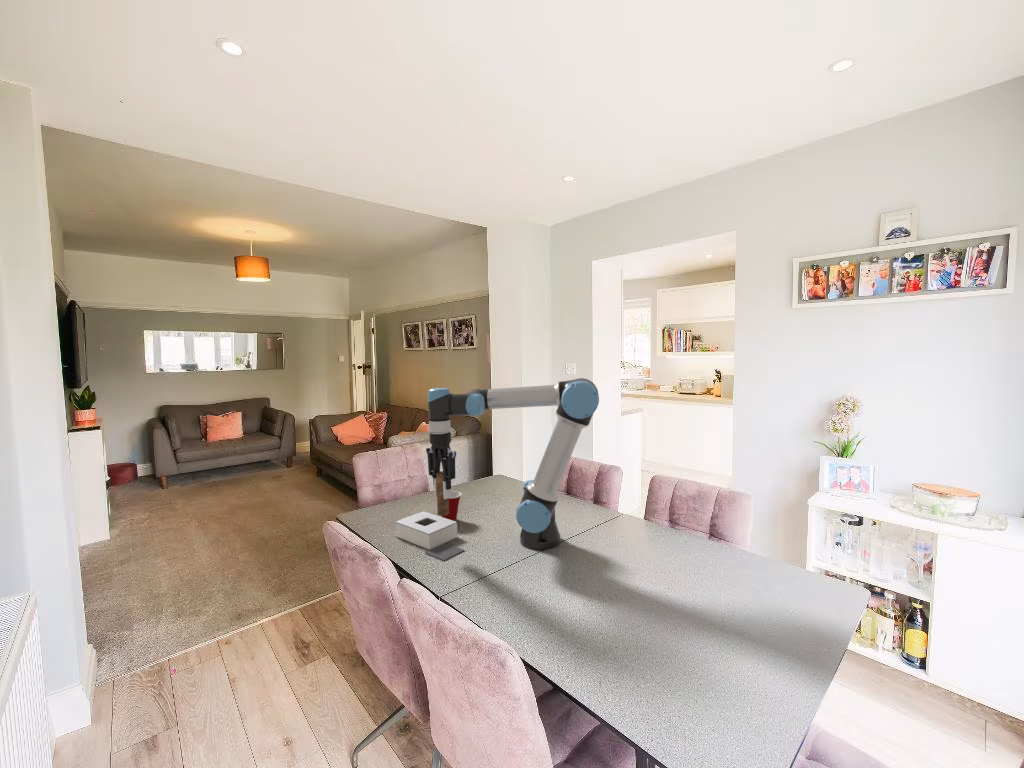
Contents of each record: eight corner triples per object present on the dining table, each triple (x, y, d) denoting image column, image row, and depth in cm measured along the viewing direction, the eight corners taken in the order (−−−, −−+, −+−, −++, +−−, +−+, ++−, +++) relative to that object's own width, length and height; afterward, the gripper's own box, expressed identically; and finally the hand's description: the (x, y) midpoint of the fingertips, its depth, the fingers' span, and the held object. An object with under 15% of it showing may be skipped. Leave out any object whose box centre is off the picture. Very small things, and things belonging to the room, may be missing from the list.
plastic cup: (467, 520, 198) (466, 493, 197) (445, 527, 191) (444, 499, 190) (453, 514, 207) (452, 487, 206) (432, 520, 200) (431, 492, 199)
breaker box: (457, 537, 182) (456, 521, 181) (429, 549, 171) (428, 533, 170) (423, 525, 194) (423, 511, 194) (395, 536, 184) (395, 521, 183)
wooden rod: (451, 513, 168) (449, 472, 167) (442, 516, 165) (441, 474, 163) (443, 511, 170) (442, 470, 169) (435, 514, 167) (433, 473, 166)
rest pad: (464, 550, 169) (464, 549, 169) (443, 561, 162) (443, 560, 162) (445, 543, 176) (445, 542, 176) (424, 553, 168) (424, 552, 168)
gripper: (464, 432, 162) (467, 498, 164) (432, 428, 173) (434, 489, 175) (448, 436, 157) (451, 504, 159) (416, 431, 168) (418, 495, 170)
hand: (442, 496), depth 167 cm, fingers closed on wooden rod, 4 cm apart
